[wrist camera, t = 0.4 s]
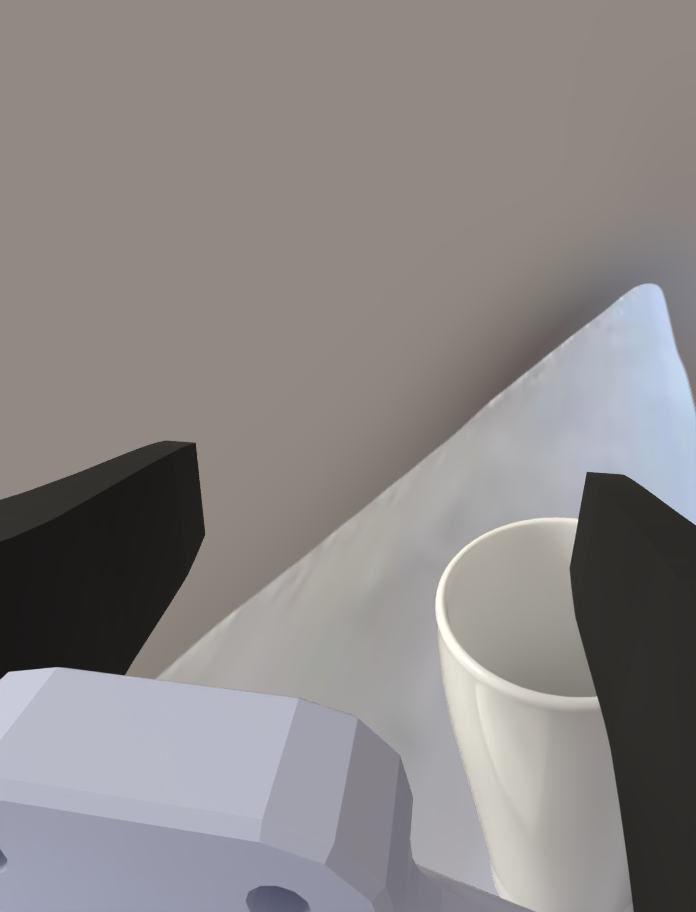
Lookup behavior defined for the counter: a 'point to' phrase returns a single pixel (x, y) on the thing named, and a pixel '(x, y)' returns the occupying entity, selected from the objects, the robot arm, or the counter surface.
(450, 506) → the counter surface
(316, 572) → the counter surface
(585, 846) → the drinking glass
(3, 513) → the robot arm
